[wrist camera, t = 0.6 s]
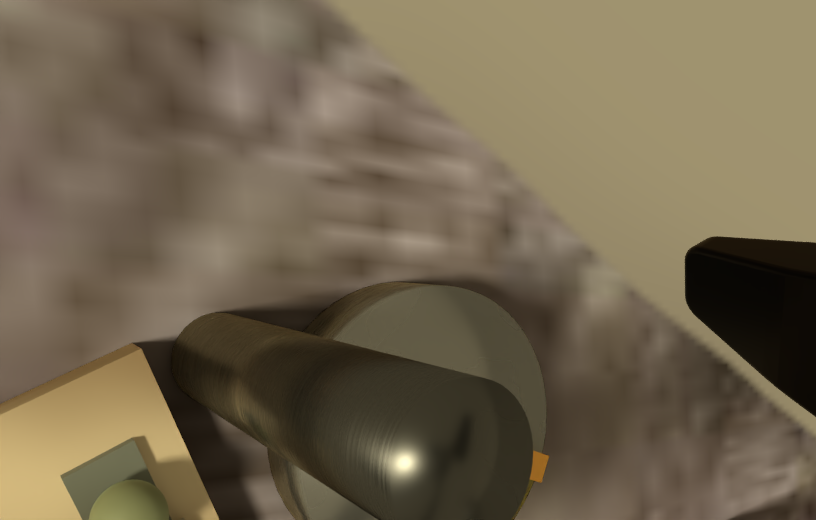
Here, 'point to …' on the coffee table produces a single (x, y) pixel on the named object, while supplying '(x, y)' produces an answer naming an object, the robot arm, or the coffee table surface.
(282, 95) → the coffee table surface
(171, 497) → the stand
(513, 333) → the grey piece
